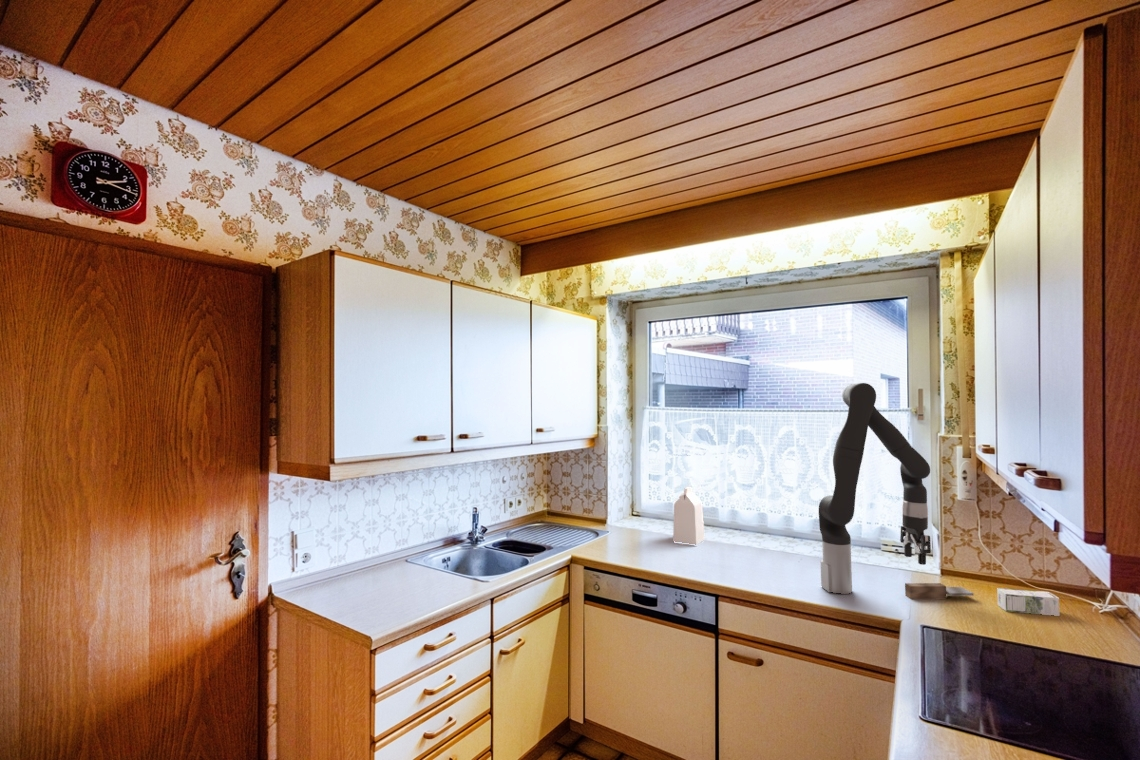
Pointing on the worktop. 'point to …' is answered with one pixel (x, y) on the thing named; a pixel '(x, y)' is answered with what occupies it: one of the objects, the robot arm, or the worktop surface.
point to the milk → (688, 518)
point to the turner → (933, 591)
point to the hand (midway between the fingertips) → (914, 560)
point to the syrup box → (1028, 601)
